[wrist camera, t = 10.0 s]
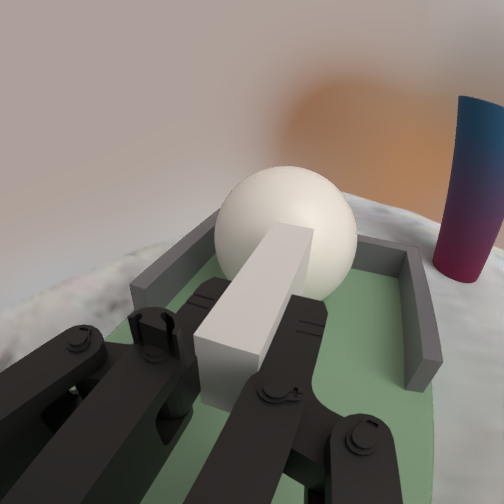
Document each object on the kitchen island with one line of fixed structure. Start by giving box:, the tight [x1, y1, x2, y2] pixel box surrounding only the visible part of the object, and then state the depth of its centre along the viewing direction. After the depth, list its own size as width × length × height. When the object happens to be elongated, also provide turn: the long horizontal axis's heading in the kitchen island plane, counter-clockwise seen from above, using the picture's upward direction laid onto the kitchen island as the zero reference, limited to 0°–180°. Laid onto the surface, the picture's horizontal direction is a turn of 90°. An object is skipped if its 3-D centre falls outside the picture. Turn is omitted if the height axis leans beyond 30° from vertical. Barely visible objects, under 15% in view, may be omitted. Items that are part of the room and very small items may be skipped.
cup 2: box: [433, 96, 504, 283], centre depth 21 cm, size 7×7×15 cm
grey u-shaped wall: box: [130, 208, 443, 393], centre depth 18 cm, size 11×15×2 cm
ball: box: [214, 166, 357, 301], centre depth 17 cm, size 8×8×8 cm
